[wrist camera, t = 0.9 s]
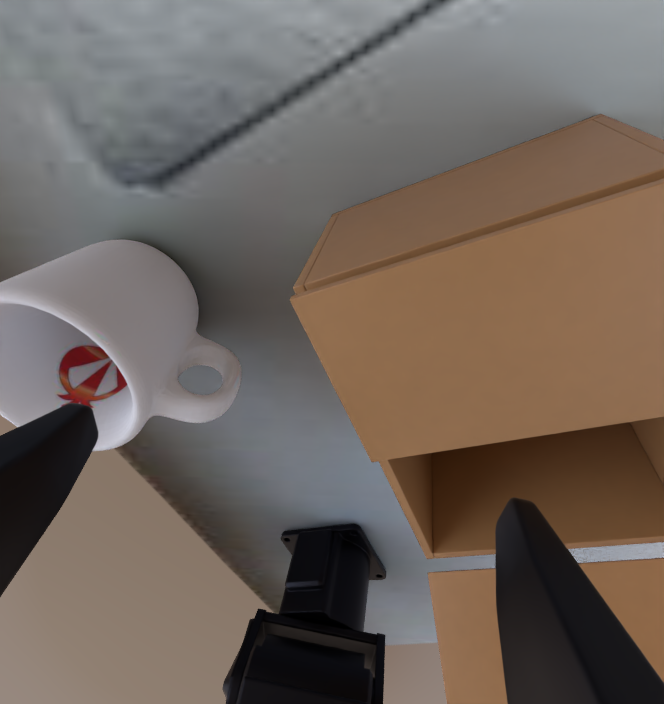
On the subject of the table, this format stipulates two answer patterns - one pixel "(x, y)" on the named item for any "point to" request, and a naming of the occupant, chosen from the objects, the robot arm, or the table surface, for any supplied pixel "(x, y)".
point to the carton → (507, 338)
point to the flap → (483, 632)
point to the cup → (107, 341)
